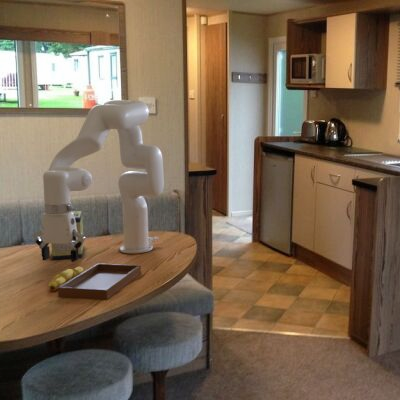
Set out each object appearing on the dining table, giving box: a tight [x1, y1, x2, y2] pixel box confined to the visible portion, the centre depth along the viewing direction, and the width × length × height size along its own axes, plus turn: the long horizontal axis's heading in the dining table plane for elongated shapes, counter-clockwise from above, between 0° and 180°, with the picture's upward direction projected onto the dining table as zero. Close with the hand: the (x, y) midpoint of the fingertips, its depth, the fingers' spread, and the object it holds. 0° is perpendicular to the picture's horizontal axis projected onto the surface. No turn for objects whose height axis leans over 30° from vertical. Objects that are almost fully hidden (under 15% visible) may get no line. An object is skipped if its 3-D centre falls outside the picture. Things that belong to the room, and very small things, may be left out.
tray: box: [57, 262, 142, 300], centre depth 183 cm, size 26×16×3 cm, turn 175°
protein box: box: [50, 209, 85, 261], centre depth 216 cm, size 10×16×16 cm
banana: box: [47, 265, 85, 292], centre depth 184 cm, size 20×4×4 cm, turn 175°
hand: (60, 260), depth 183 cm, fingers open, 9 cm apart
